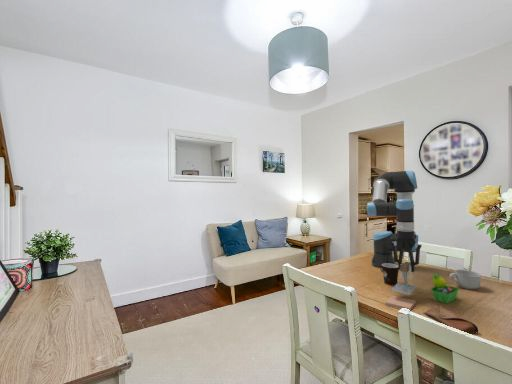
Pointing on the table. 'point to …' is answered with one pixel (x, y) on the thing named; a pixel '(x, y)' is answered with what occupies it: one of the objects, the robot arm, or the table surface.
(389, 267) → the coffee mug
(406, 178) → the robot arm
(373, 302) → the table surface
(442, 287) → the fruit basket
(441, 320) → the sunglasses case
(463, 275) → the teacup
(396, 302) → the tile
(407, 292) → the grey post stand
